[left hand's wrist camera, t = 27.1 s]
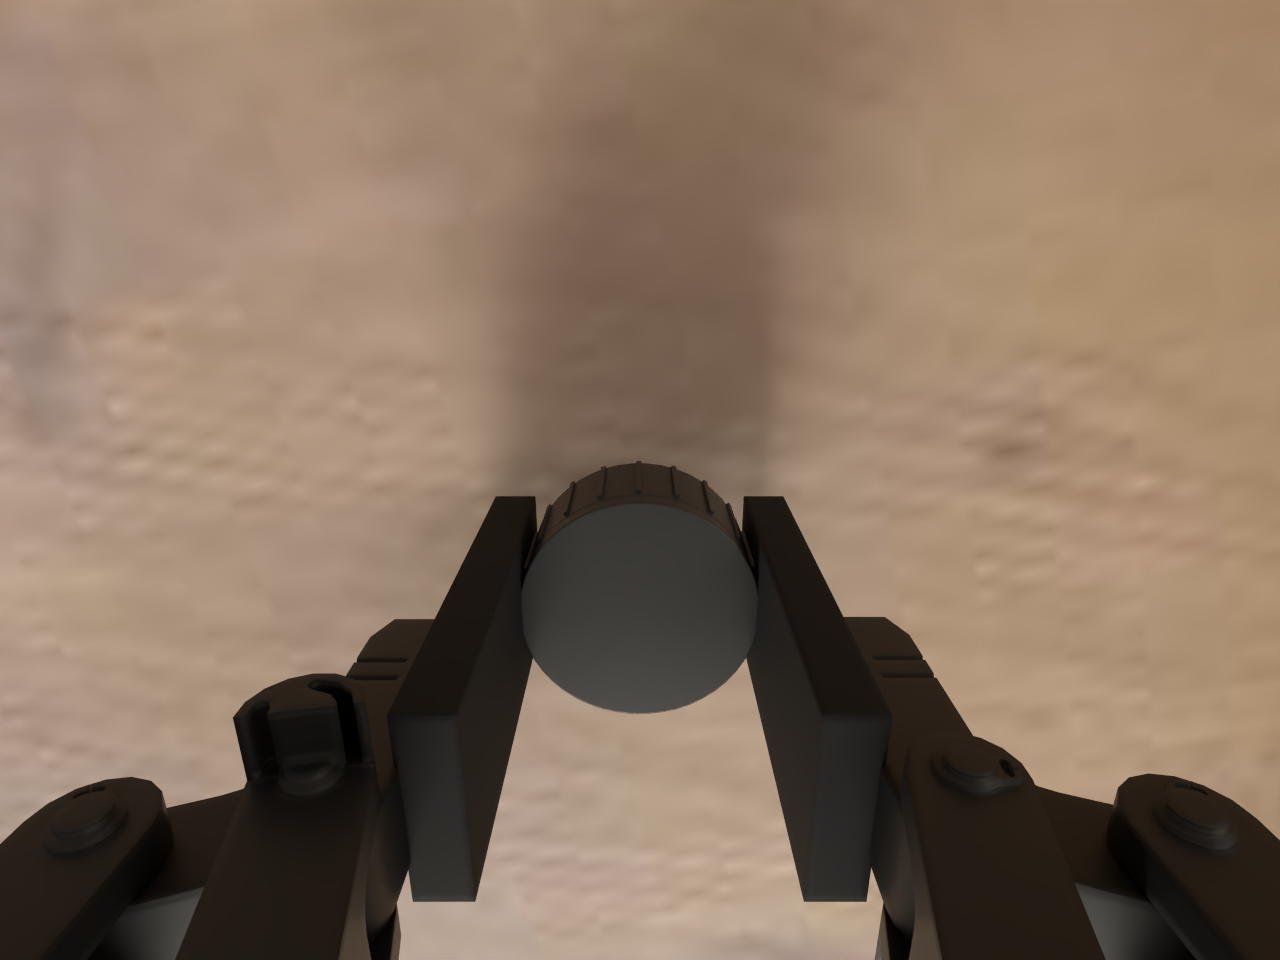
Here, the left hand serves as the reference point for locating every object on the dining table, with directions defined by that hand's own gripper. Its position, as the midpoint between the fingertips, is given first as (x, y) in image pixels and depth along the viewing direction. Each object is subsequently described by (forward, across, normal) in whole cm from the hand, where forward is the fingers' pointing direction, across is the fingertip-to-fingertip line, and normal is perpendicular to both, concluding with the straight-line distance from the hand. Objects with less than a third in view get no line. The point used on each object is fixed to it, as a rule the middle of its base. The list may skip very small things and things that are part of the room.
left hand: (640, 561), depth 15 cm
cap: (-2, 0, 0) cm, 2 cm away
